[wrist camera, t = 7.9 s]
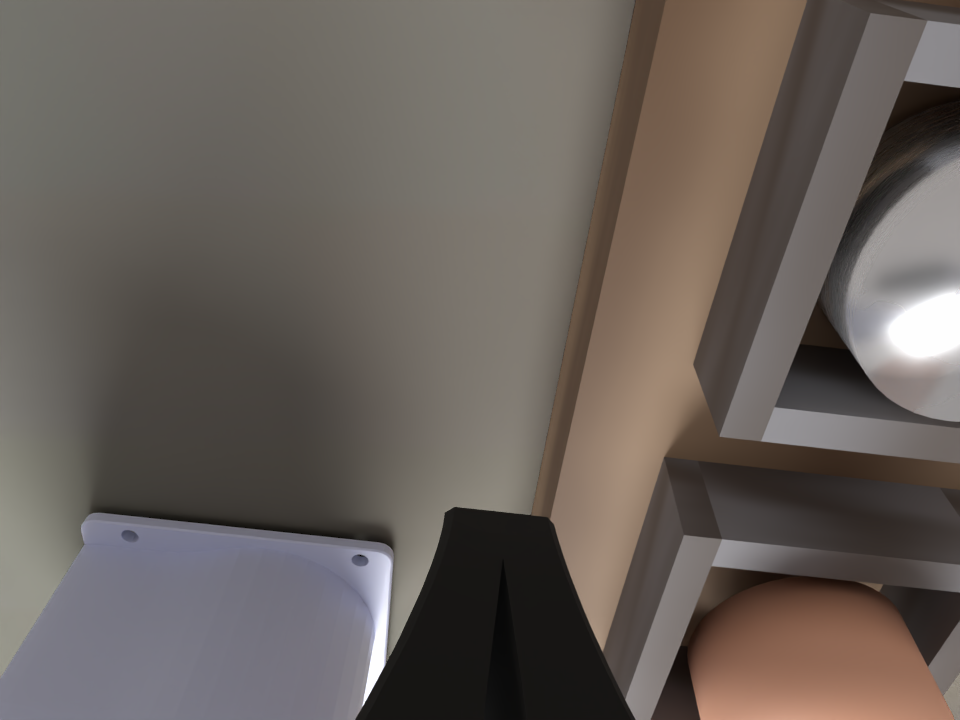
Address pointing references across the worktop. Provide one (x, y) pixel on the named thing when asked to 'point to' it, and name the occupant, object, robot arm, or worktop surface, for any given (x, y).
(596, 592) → the press panel
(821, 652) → the terracotta plunger
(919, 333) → the steel plunger
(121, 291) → the worktop surface
